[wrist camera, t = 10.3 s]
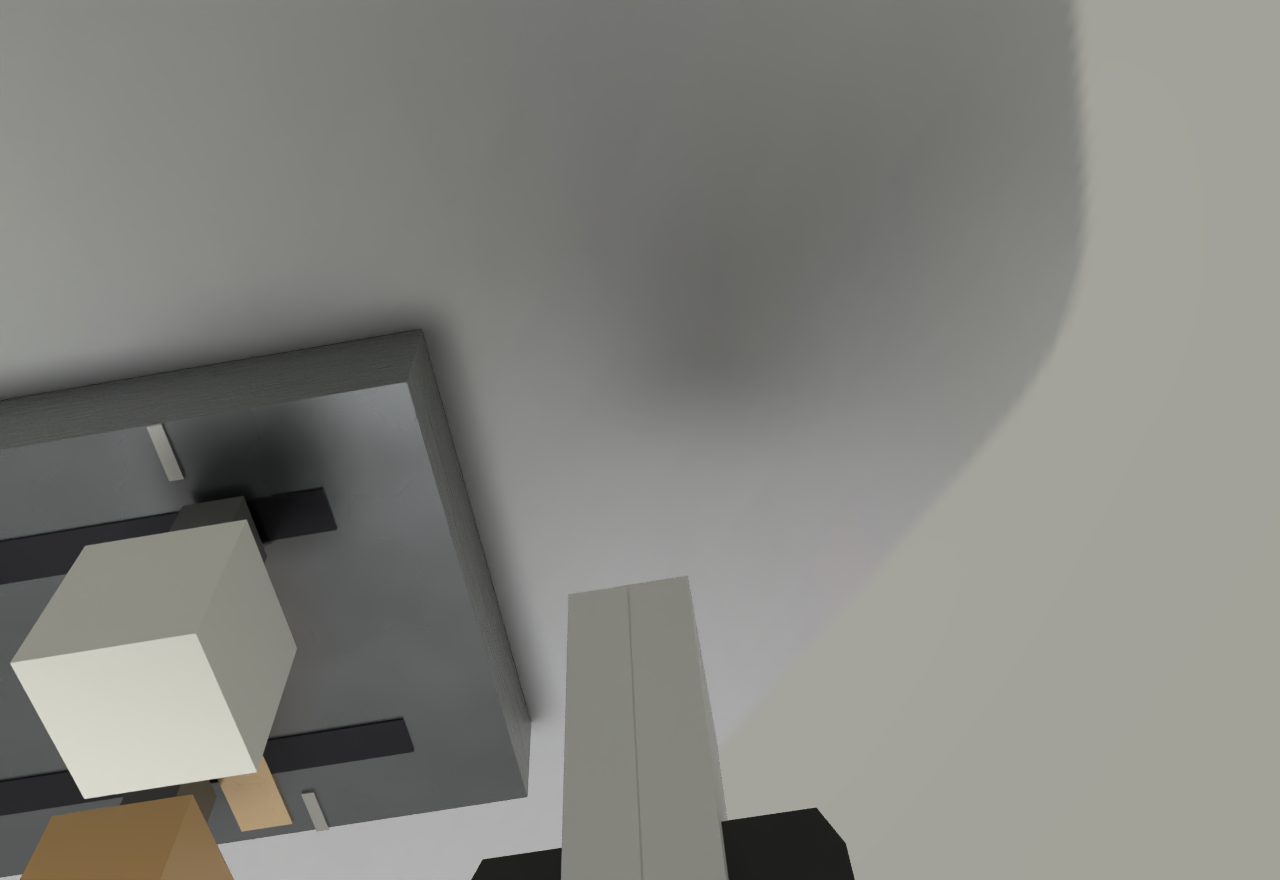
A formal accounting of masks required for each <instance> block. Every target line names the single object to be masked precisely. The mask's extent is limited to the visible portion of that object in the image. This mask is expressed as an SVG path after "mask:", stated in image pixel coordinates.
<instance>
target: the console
mask: <svg viewBox="0 0 1280 880" xmlns="http://www.w3.org/2000/svg"><path fill="white" fill-rule="evenodd" d="M239 496H244V498H245V501H246V503H247V506H248V508H249V511H250V514H251V516H252V519H253V521H254V524H255V526H256V529H257V532H258V534H259V537H260V539H261V542H262V545H263V547H264V550H265V552H266V555H267V559H266V561H265V564H264V565H265V568H266V570H267V573H268V575H269V578H270V580H271V583H272V586H273V588H274V591H275V593H276V596H277V598H278V601H279V603H280V606H281V609H282V611H283V614H284V616H285V619H286V621H287V624H288V626H289V629H290V632H291V634H292V637H293V639H294V642H295V644H296V647H297V650H296V653H295V656H294V659H293V663H292V666H291V669H290V672H289V675H288V678H287V681H286V684H285V687H284V690H283V694H282V697H281V700H280V703H279V706H278V709H277V712H276V715H275V718H274V721H273V724H272V728H271V731H270V734H269V737H268V740H267V743H266V746H265V749H264V752H263V755H262V759H261V762H260V765H259V768H258V771H257V772H256V773H249V774H243V775H236V776H230V777H223V778H217V779H210V780H209V781H210V783H211V785H212V787H213V789H214V792H215V794H216V796H217V797H216V800H215V803H214V806H213V809H212V811H211V814H210V817H209V820H208V823H207V825H208V827H209V829H210V831H211V833H212V835H213V838H214V840H215V842H216V844H223V843H229V842H236V841H242V840H249V839H255V838H262V837H268V836H275V835H281V834H288V833H295V832H301V831H308V830H314V829H316V831H323V830H329V827H334V826H340V825H347V824H353V823H360V822H367V821H373V820H380V819H386V818H393V817H399V816H406V815H412V814H419V813H425V812H432V811H439V810H445V809H452V808H458V807H465V806H471V805H478V804H484V803H491V802H497V801H504V800H511V799H517V798H524V797H527V795H528V776H529V756H530V736H531V722H530V718H529V715H528V711H527V708H526V704H525V700H524V697H523V693H522V690H521V686H520V682H519V679H518V675H517V672H516V668H515V664H514V661H513V657H512V653H511V650H510V646H509V643H508V639H507V635H506V632H505V628H504V625H503V621H502V617H501V614H500V610H499V607H498V603H497V599H496V596H495V592H494V589H493V585H492V581H491V578H490V574H489V571H488V567H487V563H486V560H485V556H484V553H483V549H482V545H481V542H480V538H479V535H478V531H477V527H476V524H475V520H474V517H473V513H472V509H471V506H470V502H469V499H468V495H467V491H466V488H465V484H464V481H463V477H462V473H461V470H460V466H459V463H458V459H457V455H456V452H455V448H454V445H453V441H452V437H451V434H450V430H449V427H448V423H447V419H446V416H445V412H444V408H443V405H442V401H441V398H440V394H439V390H438V387H437V383H436V380H435V376H434V372H433V369H432V365H431V362H430V358H429V354H428V351H427V347H426V344H425V340H424V336H423V333H422V329H421V330H415V331H409V332H403V333H397V334H391V335H385V336H379V337H373V338H367V339H362V340H356V341H350V342H344V343H338V344H332V345H326V346H320V347H314V348H308V349H303V350H297V351H291V352H285V353H279V354H273V355H267V356H261V357H255V358H249V359H244V360H238V361H232V362H226V363H220V364H214V365H208V366H202V367H196V368H190V369H185V370H179V371H173V372H167V373H161V374H155V375H149V376H143V377H137V378H131V379H126V380H120V381H114V382H108V383H102V384H96V385H90V386H84V387H78V388H72V389H67V390H61V391H55V392H49V393H43V394H37V395H31V396H25V397H19V398H13V399H8V400H2V401H0V877H7V876H13V875H20V874H23V872H24V870H25V868H26V866H27V865H28V863H29V861H30V859H31V857H32V855H33V853H34V851H35V849H36V847H37V845H38V843H39V841H40V839H41V837H42V835H43V833H44V831H45V829H46V827H47V825H48V823H49V821H50V819H51V817H52V816H55V815H61V814H68V813H74V812H81V811H87V810H94V809H100V808H107V807H113V806H120V804H121V802H122V799H123V797H124V795H125V793H120V794H114V795H107V796H101V797H94V798H88V799H84V797H83V796H82V794H81V792H80V790H79V788H78V786H77V785H76V783H75V781H74V779H73V777H72V775H71V774H70V772H69V770H68V768H67V766H66V764H65V763H64V761H63V759H62V757H61V755H60V754H59V752H58V750H57V748H56V746H55V744H54V743H53V741H52V739H51V737H50V735H49V733H48V732H47V730H46V728H45V726H44V724H43V722H42V721H41V719H40V717H39V715H38V713H37V712H36V710H35V708H34V706H33V704H32V702H31V701H30V699H29V697H28V695H27V693H26V691H25V690H24V688H23V686H22V684H21V682H20V681H19V679H18V677H17V675H16V673H15V671H14V670H13V668H12V666H11V664H10V662H11V661H12V659H13V658H14V656H15V654H16V653H17V651H18V650H19V648H20V647H21V645H22V644H23V642H24V640H25V639H26V637H27V636H28V634H29V633H30V631H31V630H32V628H33V626H34V625H35V623H36V622H37V620H38V619H39V617H40V615H41V614H42V612H43V611H44V609H45V608H46V606H47V605H48V603H49V601H50V600H51V598H52V597H53V595H54V594H55V592H56V590H57V589H58V587H59V586H60V584H61V583H62V581H63V580H64V578H65V576H66V575H67V573H68V572H69V570H70V569H71V567H72V566H73V564H74V562H75V561H76V559H77V558H78V556H79V555H80V553H81V551H82V550H83V548H84V547H85V546H87V545H93V544H100V543H106V542H112V541H118V540H124V539H130V538H136V537H142V536H148V535H155V534H161V533H167V532H169V530H170V529H171V527H172V525H173V523H174V521H175V519H176V517H177V516H178V514H179V512H180V510H181V508H182V506H185V505H191V504H197V503H203V502H209V501H215V500H221V499H227V498H233V497H239Z"/></svg>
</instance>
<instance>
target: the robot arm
mask: <svg viewBox="0 0 1280 880" xmlns="http://www.w3.org/2000/svg"><path fill="white" fill-rule="evenodd" d="M472 880H854V875H853V871H852V867H851V863H850V859H849V855H848V851H847V847H846V843H845V842H844V841H843V840H842V838H841V837H840V836H839V835H838V834H837V832H836V831H835V830H834V829H833V827H832V826H831V825H830V824H829V823H828V821H827V820H826V819H825V818H824V816H823V815H822V814H821V813H820V812H819V810H818V809H817V808H811V809H803V810H797V811H790V812H783V813H776V814H770V815H763V816H756V817H750V818H742V819H735V820H729V821H727V814H726V806H725V800H724V791H723V784H722V777H721V770H720V762H719V754H718V747H717V740H716V734H715V728H714V723H713V717H712V711H711V705H710V700H709V694H708V688H707V683H706V677H705V671H704V666H703V660H702V654H701V649H700V643H699V637H698V631H697V626H696V620H695V614H694V609H693V603H692V597H691V592H690V586H689V580H688V576H684V577H677V578H671V579H665V580H658V581H652V582H645V583H639V584H633V585H626V586H620V587H613V588H607V589H601V590H594V591H588V592H581V593H575V594H569V596H568V634H567V672H566V710H565V748H564V786H563V824H562V848H558V849H551V850H544V851H537V852H531V853H524V854H517V855H510V856H503V857H496V858H490V859H483V860H482V862H481V864H480V865H479V867H478V869H477V871H476V873H475V874H474V876H473V878H472Z"/></svg>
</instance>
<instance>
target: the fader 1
mask: <svg viewBox="0 0 1280 880" xmlns="http://www.w3.org/2000/svg"><path fill="white" fill-rule="evenodd" d="M266 559H267V555H266V552H265V550H264V547H263V545H262V542H261V539H260V537H259V534H258V532H257V529H256V526H255V524H254V521H253V519H252V516H251V514H250V511H249V508H248V506H247V503H246V501H245V498H244V496H239V497H233V498H227V499H221V500H215V501H209V502H203V503H197V504H191V505H185V506H182V508H181V510H180V512H179V514H178V516H177V517H176V519H175V521H174V523H173V525H172V527H171V529H170V530H169V532H167V533H161V534H155V535H148V536H142V537H136V538H130V539H124V540H118V541H112V542H106V543H100V544H93V545H87V546H85V547H84V548H83V550H82V551H81V553H80V555H79V556H78V558H77V559H76V561H75V562H74V564H73V566H72V567H71V569H70V570H69V572H68V573H67V575H66V576H65V578H64V580H63V581H62V583H61V584H60V586H59V587H58V589H57V590H56V592H55V594H54V595H53V597H52V598H51V600H50V601H49V603H48V605H47V606H46V608H45V609H44V611H43V612H42V614H41V615H40V617H39V619H38V620H37V622H36V623H35V625H34V626H33V628H32V630H31V631H30V633H29V634H28V636H27V637H26V639H25V640H24V642H23V644H22V645H21V647H20V648H19V650H18V651H17V653H16V654H15V656H14V658H13V659H12V661H11V662H10V664H11V666H12V668H13V670H14V671H15V673H16V675H17V677H18V679H19V681H20V682H21V684H22V686H23V688H24V690H25V691H26V693H27V695H28V697H29V699H30V701H31V702H32V704H33V706H34V708H35V710H36V712H37V713H38V715H39V717H40V719H41V721H42V722H43V724H44V726H45V728H46V730H47V732H48V733H49V735H50V737H51V739H52V741H53V743H54V744H55V746H56V748H57V750H58V752H59V754H60V755H61V757H62V759H63V761H64V763H65V764H66V766H67V768H68V770H69V772H70V774H71V775H72V777H73V779H74V781H75V783H76V785H77V786H78V788H79V790H80V792H81V794H82V796H83V797H84V799H88V798H94V797H101V796H107V795H114V794H120V793H127V792H133V791H140V790H146V789H152V788H159V787H165V786H172V785H178V784H185V783H191V782H198V781H204V780H210V779H217V778H223V777H230V776H236V775H243V774H249V773H256V772H257V771H258V768H259V765H260V762H261V759H262V755H263V752H264V749H265V746H266V743H267V740H268V737H269V734H270V731H271V728H272V724H273V721H274V718H275V715H276V712H277V709H278V706H279V703H280V700H281V697H282V694H283V690H284V687H285V684H286V681H287V678H288V675H289V672H290V669H291V666H292V663H293V659H294V656H295V653H296V650H297V647H296V644H295V642H294V639H293V637H292V634H291V632H290V629H289V626H288V624H287V621H286V619H285V616H284V614H283V611H282V609H281V606H280V603H279V601H278V598H277V596H276V593H275V591H274V588H273V586H272V583H271V580H270V578H269V575H268V573H267V570H266V568H265V565H264V564H265V561H266Z"/></svg>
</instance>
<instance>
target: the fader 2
mask: <svg viewBox="0 0 1280 880" xmlns="http://www.w3.org/2000/svg"><path fill="white" fill-rule="evenodd" d="M216 797H217V796H216V794H215V792H214V789H213V787H212V785H211V783H210V781H209V780H204V781H198V782H191V783H185V784H178V785H172V786H165V787H159V788H152V789H146V790H140V791H133V792H127V793H125V795H124V797H123V799H122V802H121V804H120V806H113V807H107V808H100V809H94V810H87V811H81V812H74V813H68V814H61V815H55V816H52V817H51V819H50V821H49V823H48V825H47V827H46V829H45V831H44V833H43V835H42V837H41V839H40V841H39V843H38V845H37V847H36V849H35V851H34V853H33V855H32V857H31V859H30V861H29V863H28V865H27V866H26V868H25V870H24V872H23V874H22V876H21V878H20V880H234V879H233V877H232V875H231V873H230V871H229V868H228V866H227V864H226V862H225V860H224V858H223V856H222V854H221V852H220V850H219V848H218V846H217V844H216V842H215V840H214V838H213V835H212V833H211V831H210V829H209V827H208V825H207V823H208V820H209V817H210V814H211V811H212V809H213V806H214V803H215V800H216Z"/></svg>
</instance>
